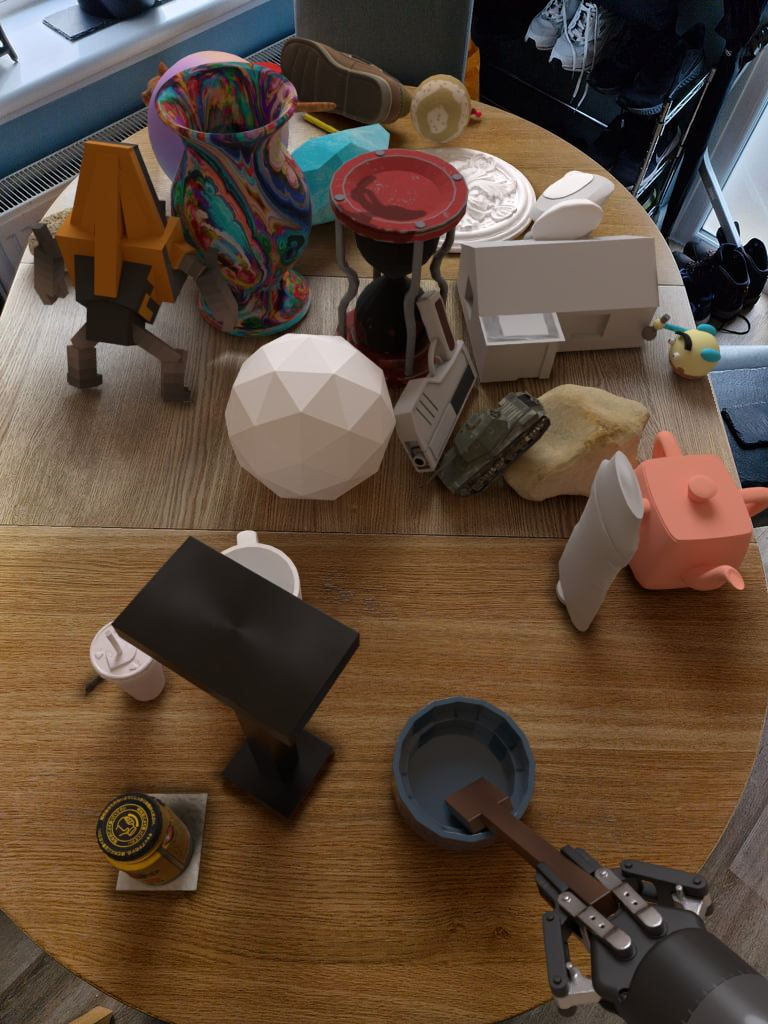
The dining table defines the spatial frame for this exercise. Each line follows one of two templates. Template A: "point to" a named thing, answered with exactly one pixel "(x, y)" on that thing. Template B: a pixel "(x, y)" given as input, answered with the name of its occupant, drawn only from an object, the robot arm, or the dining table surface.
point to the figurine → (688, 347)
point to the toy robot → (124, 266)
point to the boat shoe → (343, 82)
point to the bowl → (458, 767)
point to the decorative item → (50, 227)
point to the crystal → (334, 162)
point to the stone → (577, 442)
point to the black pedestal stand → (246, 662)
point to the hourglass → (394, 251)
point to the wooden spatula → (524, 840)
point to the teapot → (692, 520)
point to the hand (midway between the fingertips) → (553, 864)
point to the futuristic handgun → (434, 389)
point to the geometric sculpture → (309, 416)
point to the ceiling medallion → (488, 197)
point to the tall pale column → (601, 540)
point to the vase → (241, 188)
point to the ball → (164, 139)
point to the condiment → (153, 839)
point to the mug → (265, 562)
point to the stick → (93, 683)
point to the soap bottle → (570, 207)
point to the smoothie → (126, 665)
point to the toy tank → (491, 443)
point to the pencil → (319, 123)
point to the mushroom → (440, 108)
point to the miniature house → (554, 299)
